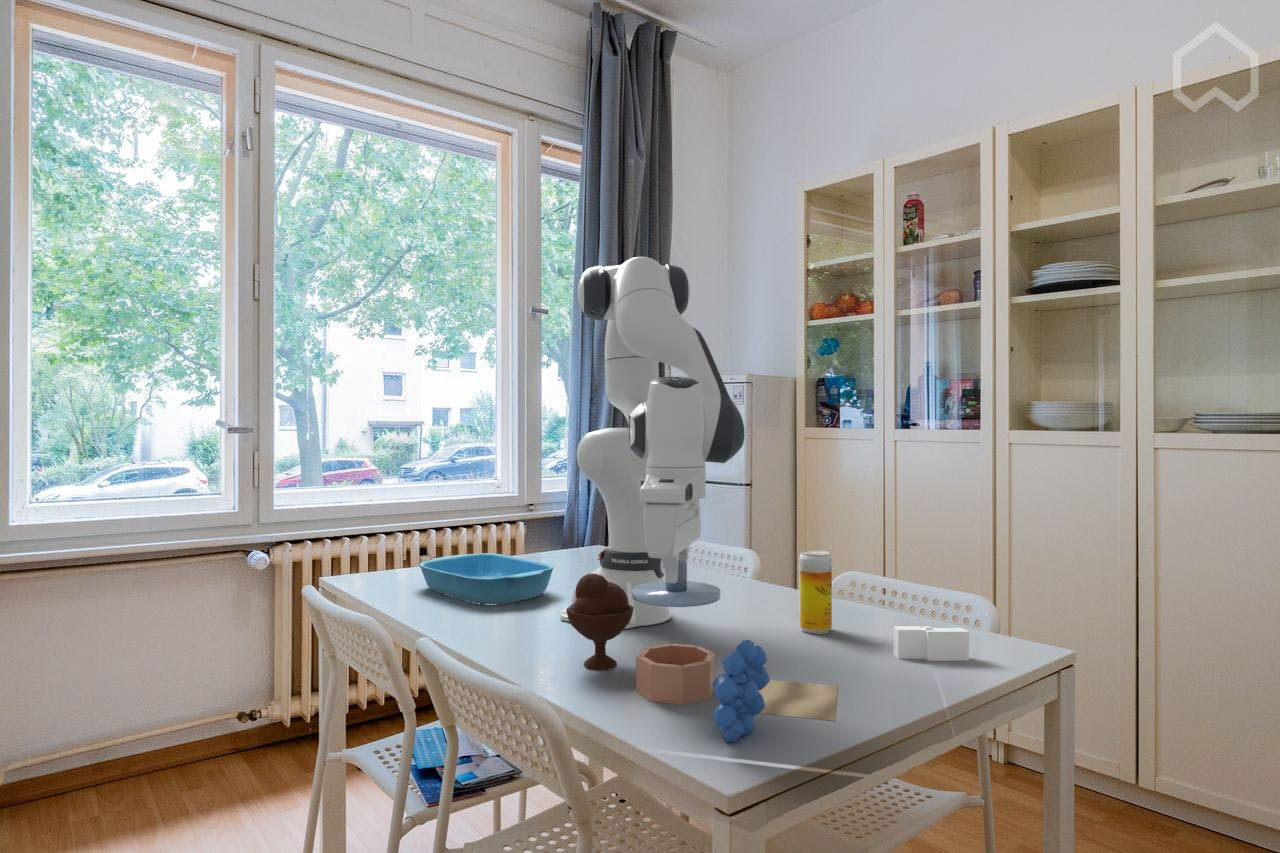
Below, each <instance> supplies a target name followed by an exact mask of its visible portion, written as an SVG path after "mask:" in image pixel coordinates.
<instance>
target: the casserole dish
mask: <svg viewBox="0 0 1280 853" xmlns="http://www.w3.org/2000/svg"><path fill="white" fill-rule="evenodd" d="M419 568H420V570H421V573H422V575H423V578H424V580H425V583H426V585H427V587H428V588H429V589H430V590H432V591H433V590H434V591H433V592H435V591H436V592H435V593H438V592H440V593H439V594H441V593H443V594H442V595H444V594H447V595H450V596H453V597H456V598H455V599H457V598H460V599H463V600H462V601H464V600H467V601H470V602H469V603H471V602H475V603H480V604H490V605H489V606H492V605H491V604H500V605H504V604H503V603H506V604H510V603H509V602H511V603H515V602H514V601H516V602H518V601H520V600H521V601H524V600H523V599H526V600H528V599H527V598H530V599H533V598H532V597H534V598H537V597H536V596H538V597H540V596H541V595H542V594H543V593H544V592H545V591H546V590H547V588H548V585H549V583H550V580H551V576H552V572H553V570H554V566H553V565H551V564H549V563H545V562H541V561H536V560H530V559H525V558H522V557H521V558H520V557H515V556H511V555H505V554H500V553H491V552H490V553H489V552H485V553H479V552H478V553H469V554H457V555H450V556H448V555H447V556H442V557H436V558H433V559H430V560H426V561H422V562H420V563H419ZM447 595H446V596H447ZM539 595H540V596H539ZM450 596H449V597H450ZM453 597H452V598H453ZM460 599H459V600H460ZM467 601H466V602H467ZM475 603H474V604H475Z"/></svg>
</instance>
